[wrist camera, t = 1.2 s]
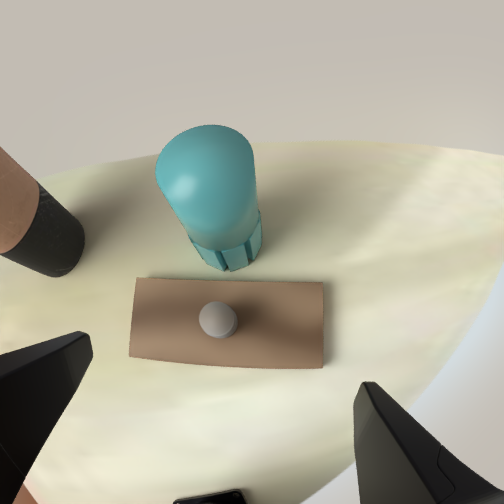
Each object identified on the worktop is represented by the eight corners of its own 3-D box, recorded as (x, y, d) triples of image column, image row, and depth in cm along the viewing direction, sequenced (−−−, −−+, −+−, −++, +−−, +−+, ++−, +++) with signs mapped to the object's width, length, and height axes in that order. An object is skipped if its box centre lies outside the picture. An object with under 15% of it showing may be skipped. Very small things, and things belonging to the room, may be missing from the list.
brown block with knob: (320, 367, 23) (330, 369, 19) (134, 356, 24) (111, 355, 20) (320, 285, 26) (329, 271, 22) (141, 280, 27) (120, 267, 23)
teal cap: (209, 279, 26) (166, 220, 15) (192, 224, 28) (148, 144, 17) (269, 257, 27) (269, 183, 16) (248, 204, 29) (235, 114, 17)
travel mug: (33, 234, 29) (-83, 144, 11) (80, 203, 30) (-31, 84, 11) (42, 291, 27) (-105, 216, 8) (93, 261, 28) (-56, 149, 9)
